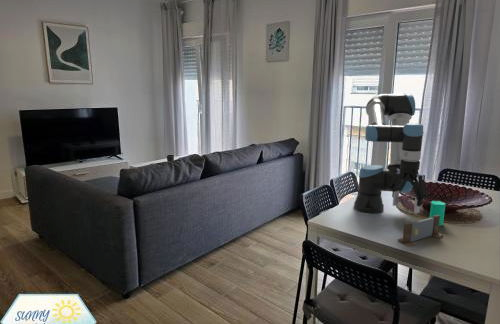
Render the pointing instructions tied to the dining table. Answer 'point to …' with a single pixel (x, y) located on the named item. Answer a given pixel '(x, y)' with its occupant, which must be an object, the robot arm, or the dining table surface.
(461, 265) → the dining table surface
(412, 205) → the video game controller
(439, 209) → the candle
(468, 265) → the dining table surface
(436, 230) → the brown bent pieces
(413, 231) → the door
